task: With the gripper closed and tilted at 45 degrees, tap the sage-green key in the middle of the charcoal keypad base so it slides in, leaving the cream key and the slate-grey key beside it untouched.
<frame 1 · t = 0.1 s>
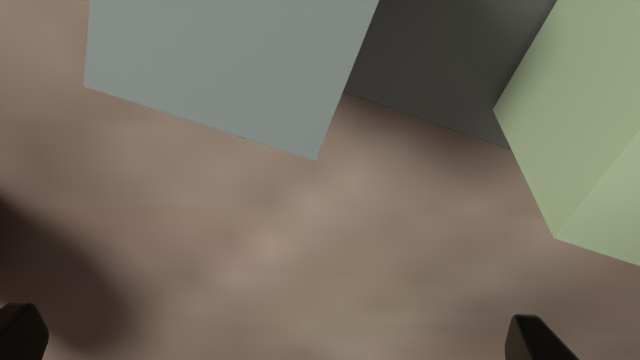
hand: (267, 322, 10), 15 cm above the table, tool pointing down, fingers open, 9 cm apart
keypad base: (608, 16, 20), on the table
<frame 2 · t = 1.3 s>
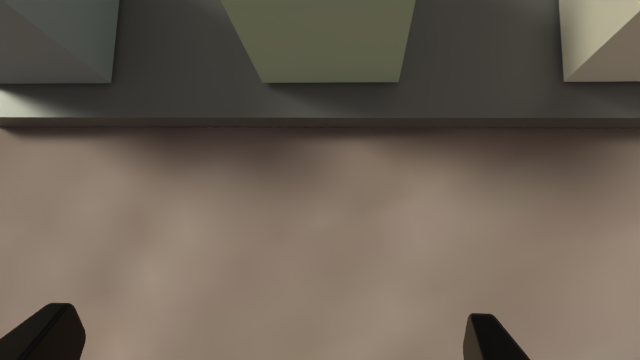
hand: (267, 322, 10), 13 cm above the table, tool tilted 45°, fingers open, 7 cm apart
keypad base: (333, 8, 25), on the table
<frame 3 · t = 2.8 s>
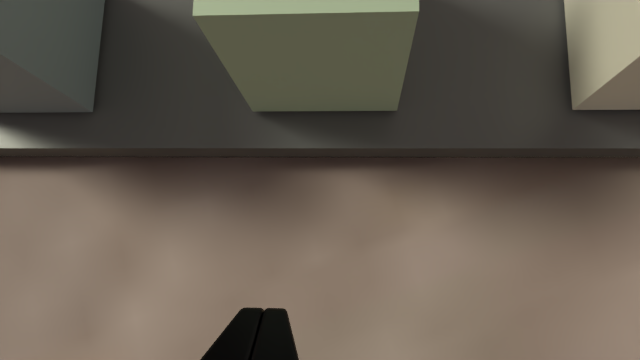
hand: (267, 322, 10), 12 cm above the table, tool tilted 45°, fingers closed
keypad base: (327, 31, 24), on the table
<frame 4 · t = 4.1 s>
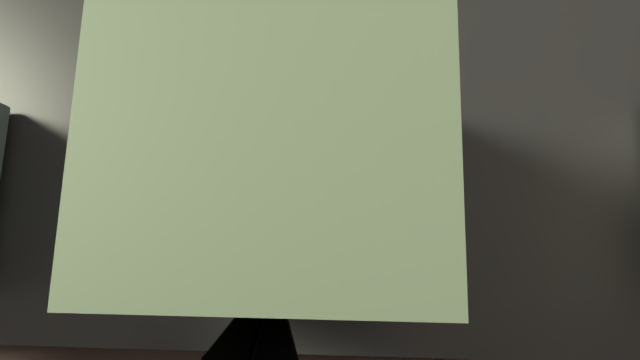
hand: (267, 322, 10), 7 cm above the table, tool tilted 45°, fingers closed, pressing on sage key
sage key: (293, 170, 12), point 6 cm above the table, slide at 0.1 cm, touching gripper
keypad base: (314, 165, 18), on the table
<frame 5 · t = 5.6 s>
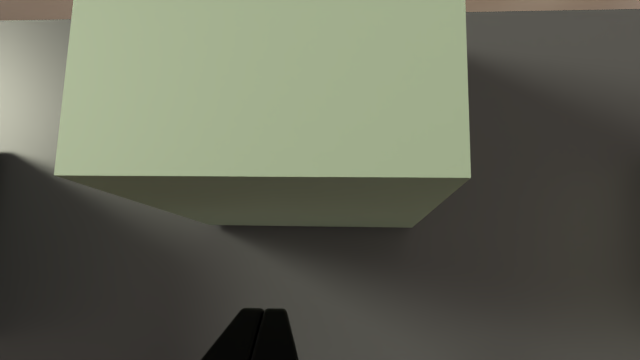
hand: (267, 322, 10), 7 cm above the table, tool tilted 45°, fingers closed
sage key: (295, 79, 12), point 6 cm above the table, slide at 3.6 cm
keypad base: (313, 205, 17), on the table
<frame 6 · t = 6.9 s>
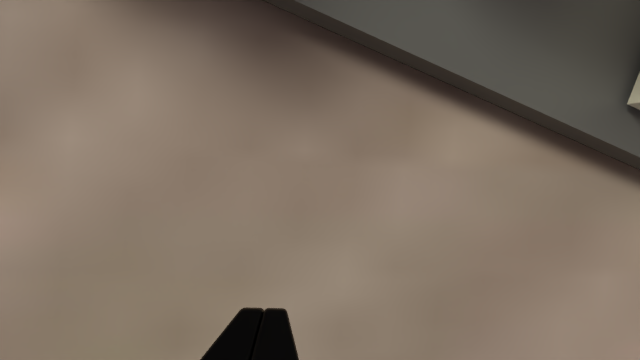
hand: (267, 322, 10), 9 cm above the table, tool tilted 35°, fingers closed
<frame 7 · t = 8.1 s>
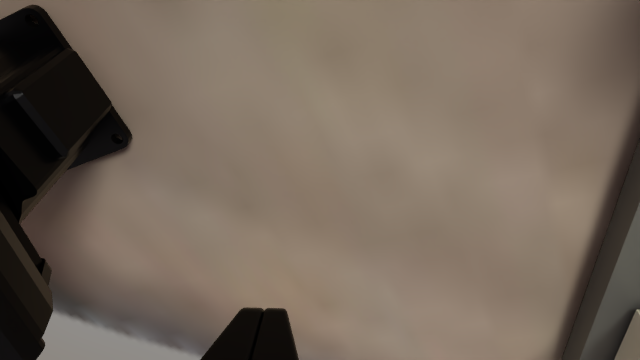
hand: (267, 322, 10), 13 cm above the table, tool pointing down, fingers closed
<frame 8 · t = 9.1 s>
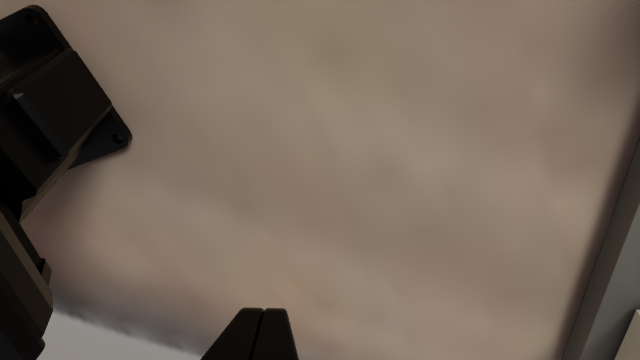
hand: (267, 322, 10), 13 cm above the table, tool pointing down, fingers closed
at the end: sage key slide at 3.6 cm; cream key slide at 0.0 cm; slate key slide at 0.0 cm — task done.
